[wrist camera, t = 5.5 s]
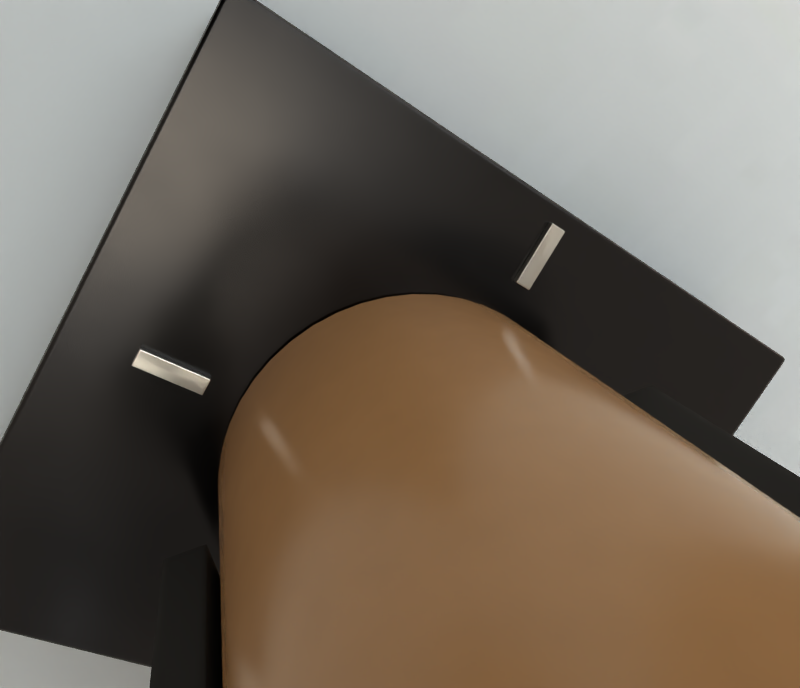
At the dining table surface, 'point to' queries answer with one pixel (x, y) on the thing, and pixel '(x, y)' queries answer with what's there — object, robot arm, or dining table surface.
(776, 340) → the dining table surface
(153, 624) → the control knob panel
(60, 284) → the dining table surface
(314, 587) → the tan pointer knob
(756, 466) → the robot arm
